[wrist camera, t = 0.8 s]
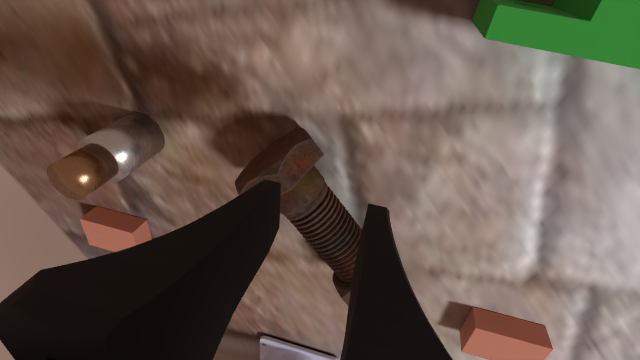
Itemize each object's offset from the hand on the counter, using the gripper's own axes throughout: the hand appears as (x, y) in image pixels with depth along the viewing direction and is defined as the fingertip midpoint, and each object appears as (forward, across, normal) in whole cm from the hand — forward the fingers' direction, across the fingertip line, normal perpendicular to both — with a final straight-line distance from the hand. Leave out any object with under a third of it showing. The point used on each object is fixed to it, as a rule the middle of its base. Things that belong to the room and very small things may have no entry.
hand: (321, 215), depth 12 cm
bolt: (+10, 0, +8) cm, 13 cm away
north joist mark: (+9, +19, +14) cm, 26 cm away
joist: (+9, -13, +14) cm, 22 cm away
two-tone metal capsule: (+9, +15, +4) cm, 18 cm away
